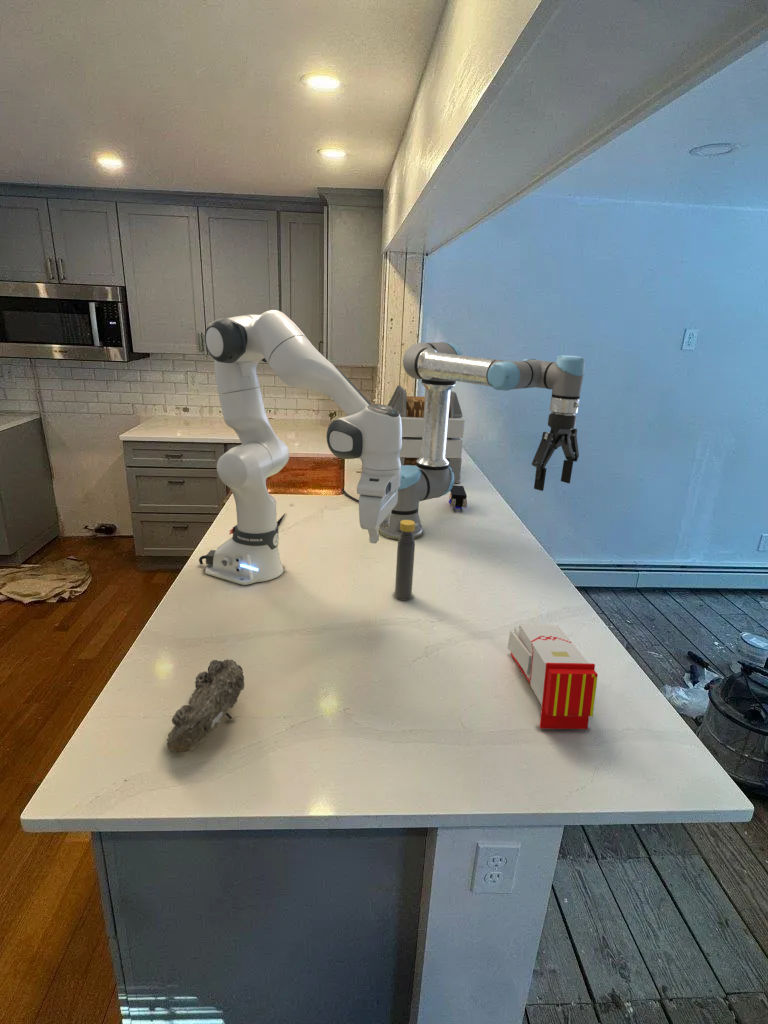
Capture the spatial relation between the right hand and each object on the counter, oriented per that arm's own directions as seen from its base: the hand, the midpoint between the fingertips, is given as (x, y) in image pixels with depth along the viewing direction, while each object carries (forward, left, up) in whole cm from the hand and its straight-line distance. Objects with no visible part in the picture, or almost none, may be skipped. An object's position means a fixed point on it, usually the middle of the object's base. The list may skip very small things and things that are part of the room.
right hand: (552, 485), depth 166 cm
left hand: (-6, -61, -3) cm, 61 cm away
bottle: (-14, -44, -28) cm, 54 cm away
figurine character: (-56, +24, -28) cm, 67 cm away
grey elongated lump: (0, -107, -28) cm, 110 cm away
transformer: (-101, +46, -28) cm, 115 cm away
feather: (-85, -39, -28) cm, 98 cm away
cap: (-14, -44, -6) cm, 47 cm away
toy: (+34, -47, -28) cm, 65 cm away
